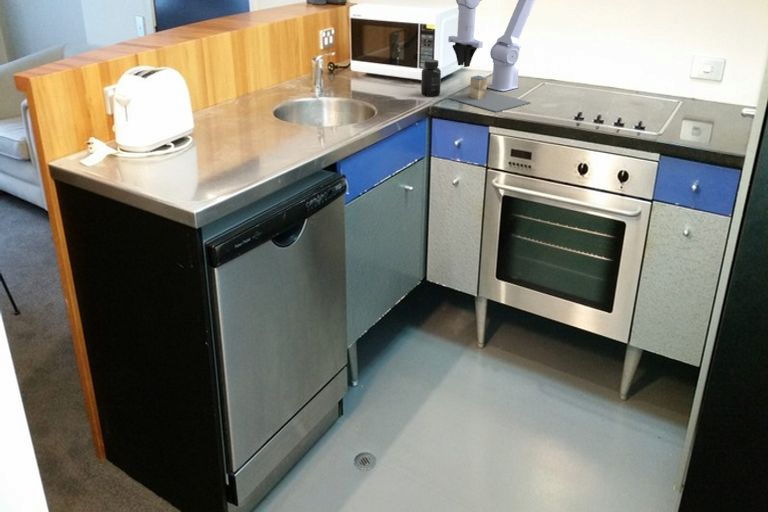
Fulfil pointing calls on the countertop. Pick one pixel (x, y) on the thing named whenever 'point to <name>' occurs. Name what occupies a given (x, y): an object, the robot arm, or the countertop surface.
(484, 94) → the beech block
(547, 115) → the countertop surface
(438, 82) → the supplement bottle
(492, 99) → the rubber mat
